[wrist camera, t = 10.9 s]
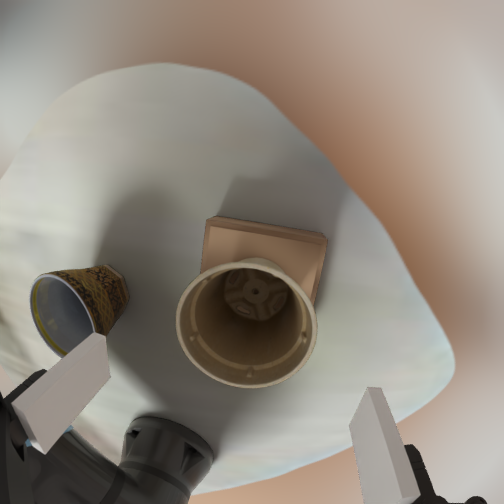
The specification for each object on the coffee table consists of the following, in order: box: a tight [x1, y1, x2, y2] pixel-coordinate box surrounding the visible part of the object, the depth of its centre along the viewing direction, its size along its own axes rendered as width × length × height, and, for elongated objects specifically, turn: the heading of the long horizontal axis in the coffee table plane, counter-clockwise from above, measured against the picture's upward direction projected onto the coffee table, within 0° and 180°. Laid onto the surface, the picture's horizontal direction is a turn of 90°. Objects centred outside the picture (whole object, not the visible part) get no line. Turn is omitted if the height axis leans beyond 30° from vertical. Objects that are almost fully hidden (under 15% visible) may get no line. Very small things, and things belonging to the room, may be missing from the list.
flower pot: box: [176, 257, 317, 388], centre depth 22 cm, size 9×9×9 cm
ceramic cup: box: [29, 265, 129, 358], centre depth 29 cm, size 13×10×10 cm
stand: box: [200, 216, 328, 314], centre depth 29 cm, size 11×11×4 cm
